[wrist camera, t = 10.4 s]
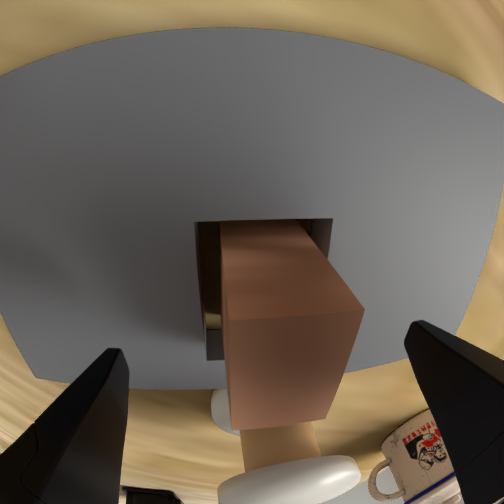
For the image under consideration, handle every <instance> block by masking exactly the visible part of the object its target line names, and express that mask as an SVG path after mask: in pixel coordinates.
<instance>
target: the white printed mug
mask: <svg viewBox="0 0 504 504" xmlns="http://www.w3.org/2000/svg"><path fill="white" fill-rule="evenodd" d="M382 452H383V454H384V456H385V458H386V460H384V461H383V462H381V463H379V464H378V465H377V466H376V467H375V468H374V469H373V471H372V472H371V474H370V476H369V480H368V489H369V492H370V495H371V496H372V497H373V498H374V499H376V500H378V501H383V502H386V501H392V500H394V499H396V498H399V497H401V496H402V497H403V499H404V501H405V503H404V504H441V503H443V504H455V503H457V502H458V501H460V498H461V497H460V495H459V494H457V493H459V492H460V488H459V484H458V481H457V478H456V476H455V472H454V469H453V466H452V464H451V461H450V458H449V456H448V453H447V450H446V448H445V445H444V443H443V440H442V437H441V435H440V433H439V430H438V428H437V425H436V423H435V420H434V418H433V416H432V413H431V411H430V409H428V410H426V411H424V412H422V413H420V414H419V415H417V416H415V417H413V418H412V419H410V420H409V421H407V422H406V423H404V424H403V425H401V426H400V427H399V428H398V429H396V430H395V431H394V432H393V433H391V434H390V435H389V436H388V437H387V438H386V440H385V441H384V442H383V444H382ZM388 465H389V467H390V469H391V472H392V474H393V476H394V478H395V481H396V483H397V485H398V488H399V490H400V491H398V492H396V493H394V494H390V495H385V494H382V493H380V492H379V491H378V489H377V487H376V476H377V473H378V472H379V471H380V470H381V469H383V468H384V467H386V466H388Z"/></svg>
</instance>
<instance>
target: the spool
mask: <svg viewBox="0 0 504 504" xmlns="http://www.w3.org/2000/svg"><path fill="white" fill-rule="evenodd" d="M211 413H212V418H213V421H214V422H215V424H216V425H217V426H218V427H219V428H221V429H222V430H224V431H226V432H228V433H231V434H234V435H238V436H240V438H241V445H242V452H243V459H244V466H245V472H246V473H243V474H240V475H237V476H235V477H232V478H230V479H228V480H226V481H224V482H223V483H221V484H220V485H219V486H218V489H217V491H218V501H219V504H319V503H322V502H324V501H327V500H329V499H332V498H334V497H336V496H338V495H340V494H342V493H344V492H346V491H348V490H349V489H351V488H352V487H354V486H355V485H356V484H358V483H359V481H360V480H361V474H360V472H359V469H358V466H357V464H356V461H355V460H354V458H352V457H349V456H343V455H332V456H321V453H320V450H319V447H318V444H317V440H316V437H315V434H314V431H313V428H312V425H311V422H304V423H298V424H291V425H284V426H276V427H268V428H258V429H247V430H233V431H232V430H231V421H230V412H229V402H228V392H227V388H226V389H214V390H213V392H212V395H211Z"/></svg>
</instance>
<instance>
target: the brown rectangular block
mask: <svg viewBox="0 0 504 504" xmlns="http://www.w3.org/2000/svg"><path fill="white" fill-rule="evenodd" d="M219 225H220V301H221V324H222V337H223V349H224V360H225V371H226V382H227V392H228V402H229V412H230V421H231V430H232V431H233V430H247V429H258V428H268V427H276V426H284V425H291V424H298V423H304V422H310V421H316V420H321V419H325V418H326V416H327V414H328V411H329V409H330V406H331V404H332V402H333V399H334V397H335V394H336V392H337V389H338V387H339V384H340V382H341V379H342V377H343V374H344V371H345V369H346V366H347V363H348V360H349V358H350V355H351V352H352V349H353V346H354V343H355V340H356V337H357V334H358V331H359V328H360V325H361V321H362V318H363V315H364V311H365V309H364V307H363V306H362V305H361V303H360V302H359V301H358V299H357V298H356V297H355V295H354V294H353V292H352V291H351V290H350V288H349V287H348V286H347V284H346V283H345V282H344V280H343V279H342V278H341V277H340V275H339V274H338V273H337V271H336V270H335V269H334V267H333V266H332V265H331V263H330V262H329V261H328V260H327V258H326V257H325V256H324V254H323V253H322V252H321V251H320V249H319V248H318V247H317V246H316V244H315V243H314V242H313V240H312V239H311V238H310V237H309V235H308V234H307V233H306V232H305V230H304V229H303V228H302V227H301V226H300V224H299V223H298V222H297V221H296V220H229V221H219Z"/></svg>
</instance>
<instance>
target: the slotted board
mask: <svg viewBox="0 0 504 504" xmlns="http://www.w3.org/2000/svg"><path fill="white" fill-rule="evenodd" d="M503 184H504V104H503V103H502V102H500V101H498V100H497V99H495V98H493V97H491V96H490V95H488V94H486V93H484V92H482V91H481V90H479V89H477V88H475V87H473V86H471V85H469V84H467V83H465V82H463V81H461V80H459V79H457V78H455V77H452V76H450V75H448V74H446V73H444V72H441V71H439V70H436V69H434V68H432V67H429V66H427V65H424V64H421V63H419V62H416V61H413V60H411V59H408V58H405V57H402V56H399V55H396V54H393V53H390V52H386V51H383V50H380V49H376V48H372V47H369V46H365V45H361V44H357V43H353V42H349V41H344V40H339V39H335V38H329V37H324V36H318V35H312V34H306V33H299V32H291V31H282V30H271V29H257V28H190V29H176V30H166V31H157V32H149V33H142V34H136V35H130V36H124V37H119V38H114V39H109V40H105V41H100V42H96V43H92V44H88V45H84V46H81V47H77V48H74V49H70V50H67V51H64V52H60V53H57V54H54V55H51V56H49V57H46V58H43V59H40V60H38V61H35V62H32V63H30V64H27V65H25V66H22V67H20V68H18V69H15V70H13V71H11V72H9V73H7V74H4V75H2V76H0V312H1V314H2V317H3V319H4V321H5V323H6V325H7V327H8V329H9V331H10V333H11V335H12V337H13V339H14V341H15V343H16V345H17V347H18V349H19V350H20V352H21V354H22V356H23V358H24V359H25V361H26V363H27V364H28V366H29V368H30V369H31V371H32V373H33V374H34V376H35V378H39V379H45V380H51V381H57V382H64V383H72V382H73V381H74V380H75V379H76V378H77V377H78V376H79V375H80V374H81V373H82V372H83V371H84V370H85V369H86V368H87V367H88V366H89V365H90V364H91V363H92V362H93V361H94V360H95V359H96V358H98V357H99V356H100V355H101V354H102V353H103V352H104V351H105V350H106V349H107V348H120V349H122V351H123V353H124V356H125V359H126V361H127V364H128V367H129V372H130V377H129V389H143V390H205V389H226V388H227V382H226V371H225V360H224V349H223V337H222V330H206V323H205V313H204V302H203V291H202V279H201V266H200V252H199V236H198V222H204V221H229V220H261V219H312V228H311V239H312V240H313V242H314V243H315V244H316V246H317V247H318V248H319V249H320V251H321V252H322V253H323V254H324V256H325V257H326V258H327V260H328V261H329V262H330V263H331V265H332V266H333V267H334V269H335V270H336V271H337V273H338V274H339V275H340V277H341V278H342V279H343V280H344V282H345V283H346V284H347V286H348V287H349V288H350V290H351V291H352V292H353V294H354V295H355V297H356V298H357V299H358V301H359V302H360V303H361V305H362V306H363V307H364V309H365V311H364V315H363V318H362V321H361V325H360V328H359V331H358V334H357V337H356V340H355V343H354V346H353V349H352V352H351V355H350V358H349V360H348V363H347V366H346V369H345V371H344V373H348V372H352V371H357V370H362V369H366V368H371V367H375V366H379V365H383V364H387V363H391V362H395V361H398V360H402V359H406V358H408V355H407V352H406V350H405V347H404V339H405V336H406V334H407V331H408V329H409V326H410V324H411V323H412V322H413V321H417V320H425V321H427V322H429V323H431V324H433V325H435V326H437V327H439V328H441V329H443V330H445V331H447V332H449V333H451V334H453V335H455V334H456V332H457V330H458V328H459V326H460V324H461V321H462V319H463V317H464V315H465V312H466V310H467V308H468V305H469V303H470V300H471V298H472V295H473V293H474V290H475V288H476V285H477V282H478V280H479V277H480V274H481V271H482V268H483V265H484V262H485V259H486V256H487V252H488V249H489V246H490V242H491V239H492V235H493V231H494V227H495V223H496V219H497V215H498V210H499V205H500V200H501V195H502V190H503Z"/></svg>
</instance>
